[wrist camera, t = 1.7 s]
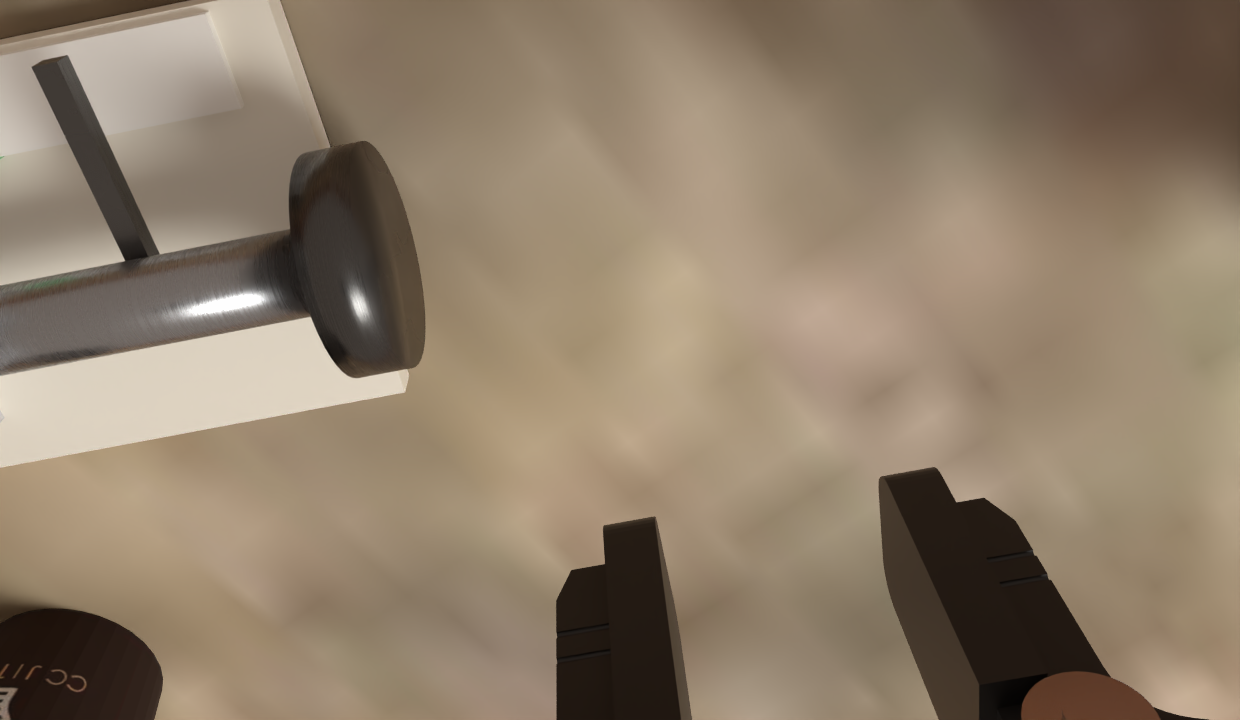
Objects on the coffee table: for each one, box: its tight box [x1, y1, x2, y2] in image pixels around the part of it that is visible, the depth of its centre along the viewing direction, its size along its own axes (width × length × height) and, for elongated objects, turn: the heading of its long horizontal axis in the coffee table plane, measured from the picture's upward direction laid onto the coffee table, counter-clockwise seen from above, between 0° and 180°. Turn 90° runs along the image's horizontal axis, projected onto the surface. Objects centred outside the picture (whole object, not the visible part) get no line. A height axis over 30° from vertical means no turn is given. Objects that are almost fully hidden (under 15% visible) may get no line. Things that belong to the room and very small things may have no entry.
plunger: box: [0, 55, 425, 378], centre depth 24 cm, size 14×9×6 cm, turn 100°
